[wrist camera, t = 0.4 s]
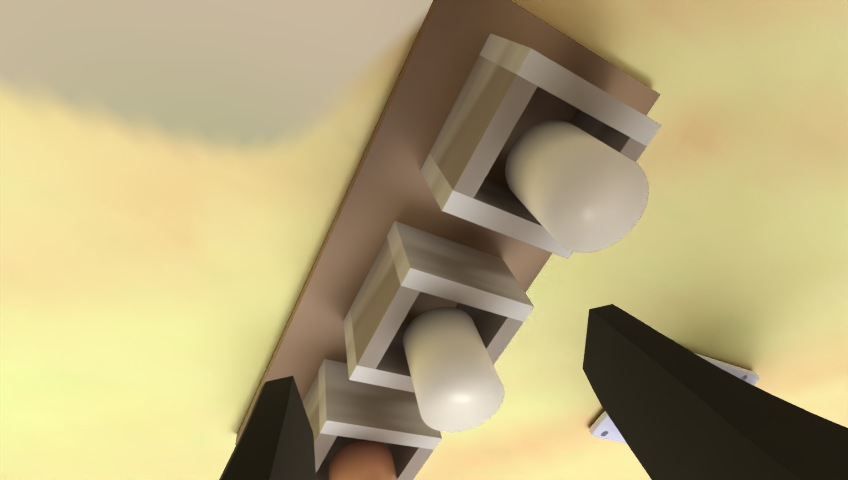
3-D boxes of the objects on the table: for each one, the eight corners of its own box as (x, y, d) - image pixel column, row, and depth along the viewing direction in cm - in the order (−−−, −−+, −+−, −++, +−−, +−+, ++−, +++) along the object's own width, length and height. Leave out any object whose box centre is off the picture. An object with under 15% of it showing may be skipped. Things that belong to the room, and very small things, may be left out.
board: (651, 91, 20) (726, 118, 16) (405, 457, 28) (418, 527, 25) (449, -35, 16) (489, -36, 12) (236, 435, 25) (224, 514, 21)
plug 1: (488, 317, 19) (519, 379, 16) (453, 369, 20) (477, 437, 17) (423, 298, 18) (445, 362, 15) (390, 355, 19) (405, 425, 16)
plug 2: (604, 141, 16) (669, 179, 13) (556, 214, 17) (606, 264, 14) (536, 104, 15) (590, 138, 12) (489, 186, 16) (528, 234, 13)
